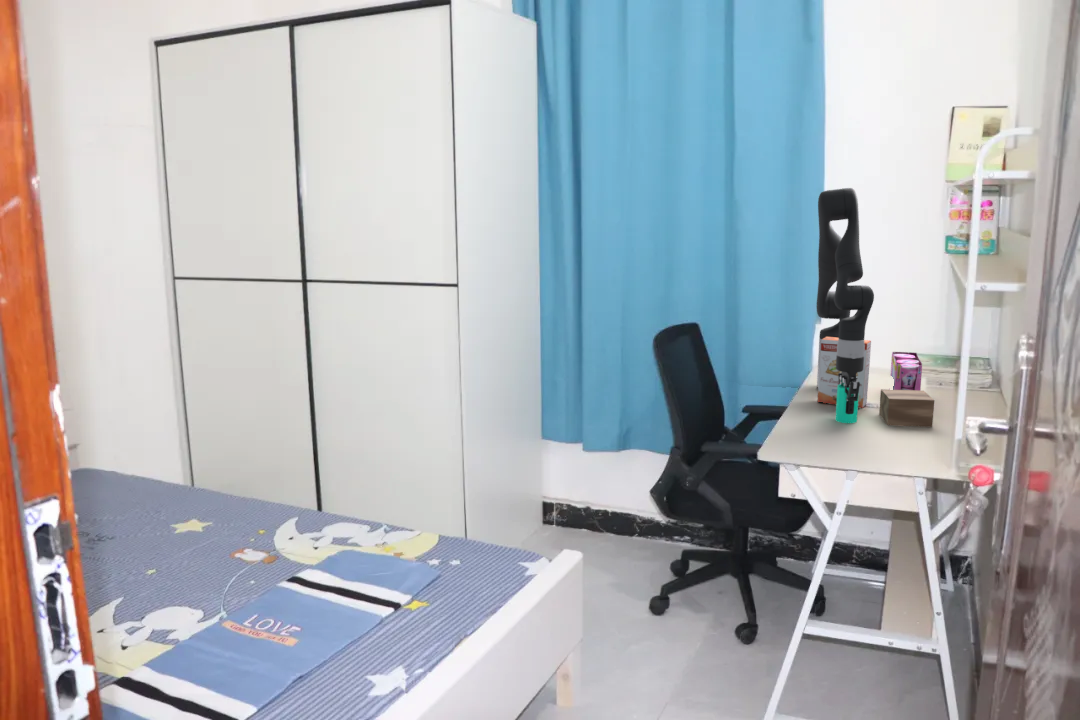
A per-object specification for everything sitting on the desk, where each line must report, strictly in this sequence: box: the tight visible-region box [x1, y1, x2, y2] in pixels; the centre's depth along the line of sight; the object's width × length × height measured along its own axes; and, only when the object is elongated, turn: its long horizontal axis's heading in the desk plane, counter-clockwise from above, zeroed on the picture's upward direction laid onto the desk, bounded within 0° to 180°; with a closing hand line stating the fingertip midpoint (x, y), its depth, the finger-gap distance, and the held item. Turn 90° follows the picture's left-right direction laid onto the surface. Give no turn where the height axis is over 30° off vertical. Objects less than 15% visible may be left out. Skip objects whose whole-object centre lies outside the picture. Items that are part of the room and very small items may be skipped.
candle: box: [834, 384, 859, 424], centre depth 241 cm, size 6×6×12 cm
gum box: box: [890, 351, 923, 391], centre depth 266 cm, size 24×8×14 cm, turn 160°
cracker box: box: [817, 337, 872, 409], centre depth 260 cm, size 14×6×21 cm, turn 56°
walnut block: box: [878, 388, 935, 428], centre depth 241 cm, size 12×12×8 cm
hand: (846, 411), depth 242 cm, fingers closed on candle, 5 cm apart
